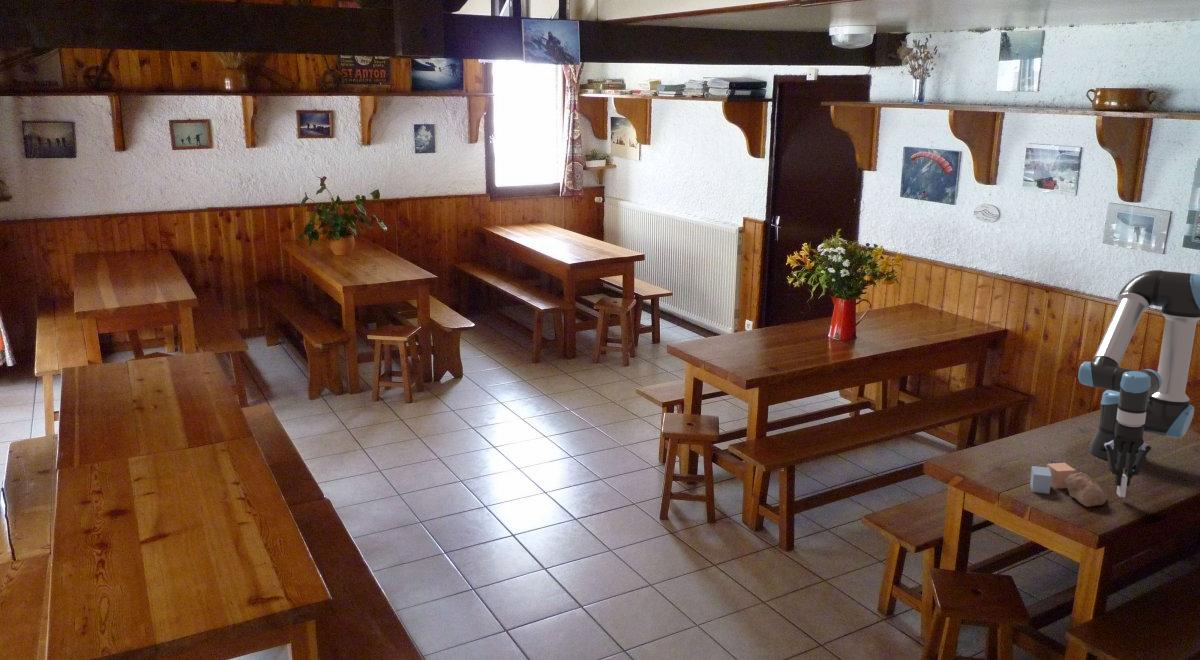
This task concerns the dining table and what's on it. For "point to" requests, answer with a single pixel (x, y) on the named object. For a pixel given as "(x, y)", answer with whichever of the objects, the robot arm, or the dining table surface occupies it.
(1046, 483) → the slate block
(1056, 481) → the terracotta block
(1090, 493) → the stone
